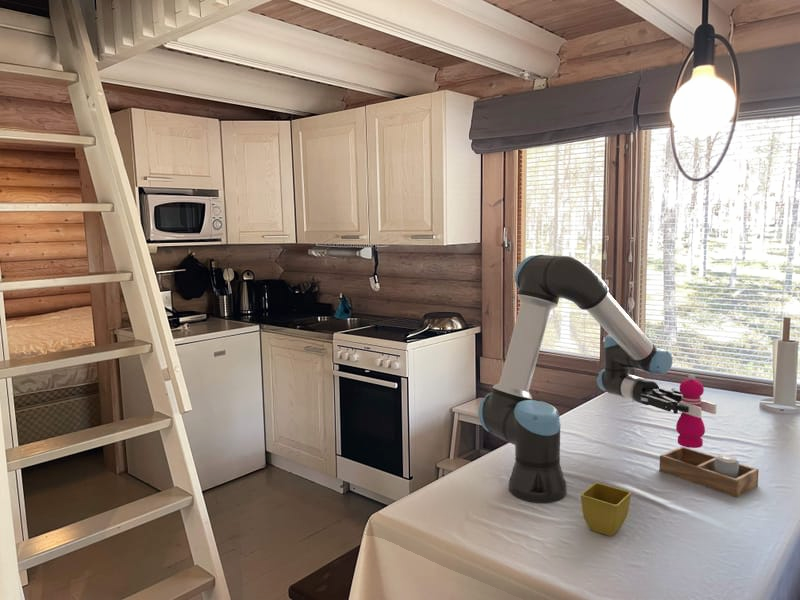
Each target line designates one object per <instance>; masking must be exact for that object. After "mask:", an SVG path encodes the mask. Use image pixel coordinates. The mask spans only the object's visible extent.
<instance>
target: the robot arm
mask: <svg viewBox="0 0 800 600" xmlns="http://www.w3.org/2000/svg"><path fill="white" fill-rule="evenodd" d="M514 282H515V287H516V288H517V289H518V292H517V298H518V300H519V301H520V305H519V308H518V313H517V317H516V320H515V323H514V326H513V327H514V328H513V331H512V334H511V338H510V343H509V346H508V349H507V353H506V357H505V360H504V364H503V367H502V372H501V375H500V379H499V382H498V383H496V384H494V385H493V386H492V388H491V392H490V393H488V394H486V395H485V397H483V398H482V399H481V401H480V403H479V405H478V410H477V411H478V413H477V414H478V415H477V416H478V420H479V422H480V424H481V426H482V428H484V430H486V432H488V433H489V434H491V435H492V436H494V437H497V438H500V439H501V440H504V441H506V442H507V443H509V444H511V445H514V446H515V449H514V450H515V454H514V455H515V458H514V459H515V460H514V461H515V462H514V465H513V468H512V471H511V475H510V477H509V479H508V490H509V492H510V493H511V494H512V495H513V496H515V497H516V498H517V499H520V500H523V501H527V502H531V503H539V504H540V503H553V502H557V501H560V500H562V499H564V498H565V497H566V495H567V494H568V493H567V487H568V486H567V482H566V480H565V478H564V472H563V470H562V467H561V462H560V460H561V419H560V413H559V411H558V409H557V408H556V407H555V406H554V405H552V404H550V403H547V402H545V401H541V400H540V401H538V400H537V399H536V400H534V399H533V397H532V395H531V393H530V387H531V384H532V380H533V375H534V373H535V368H536V365H537V361H538V357H539V354H540V351H541V350H540V349H541V346H542V343H543V338H544V335H545V331H546V329H547V324H548V320H549V316H550V313H551V311H552V310H553V309H554V308H557V307H558V304H559V300H560V299H565V300H568V301H570V302H572V303H574V304H575V305H576V306H577V307H578V308H579V309H580V310H584V311H586V312H588V313H589V315H591V317H592V318H593V319H594V320H595V321H596V322H597V323H598V324H599V326H601V328H602V329H603V330H604V331H605V332H606V333H607V335H605V336H604V344H603V345H604V346H603V350H604V351H603V354H604V356H603V357H604V359H603V360H604V368H603V369H602V370H600V371H599V372H598V376H597V378H596V383H597V386H598V387H599V389H601V391H604V392H607V393H608V394H611V395H614V396H618V397H621V398H624V399H627V400H630V401H631V402H632V403H633V402H636V403H638V404H641V405H645V406H652V407H655V408H657V409H660V410H662V411H663V410H664V411H667V412H672V411H673V414H674V415H675V414H676V415H677V414H678V412H680V413H682V412H683V413H686V414H689V415H692V416H695V417H698V418H701V419H702V412H705V413H708V414H711V415H717V404H716V403H714V402H709V401H707V400H703V399H701V403H700V405H699V407H698V406H695V405H692V404H688V403H685V402H682V401H681V399H682V398H681V396H682V393H681V392H680V389H676V388H675V387H673V388H671V389H670V390H669V389H666V388H663V387H659V384H657V382H655V381H653V380H650V379H647V378H643V377H641V376H637V375H633V374H630V369H634V370H638V371H641V372H644V373H649V374H650V375H659V376H664V375H665V374H667V373H668V372H670V369H671V368H672V366H673V357H672V354H671V353H670V351H668V350H667V349H663V348H658V347H656V345H655V344H654V343H653V342H652V341H651V340H650V339H649V338H648V337H647V335H646V334H645V333H644V332H643V330H641V328H640V327H639V326H638V324H637V323H635V322H634V320H633V319H632V318H631V317H630V316H629V314H627V312H626V311H625V309H623V307H622V306H620V304H619V303H618V302H617V301H616V300H615V299H614V297H613V296H612V295H611V294H610V292H609V286H608V284H607V283H606V282H605V281H604V280H603V279H602V278H601V276H599V274H598V273H596V272H595V271H594V269H592V268H591V267H589V266H588V265H587V264H586V263H584V262H583V261H581V260H580V259H577V258H575V257H572V256H567V255H552V254H537V255H529V256H528V257H526V258H524V259H523V260H522V261H520V263H519V264H518V265H517V268H516V270H515V273H514Z"/></svg>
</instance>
